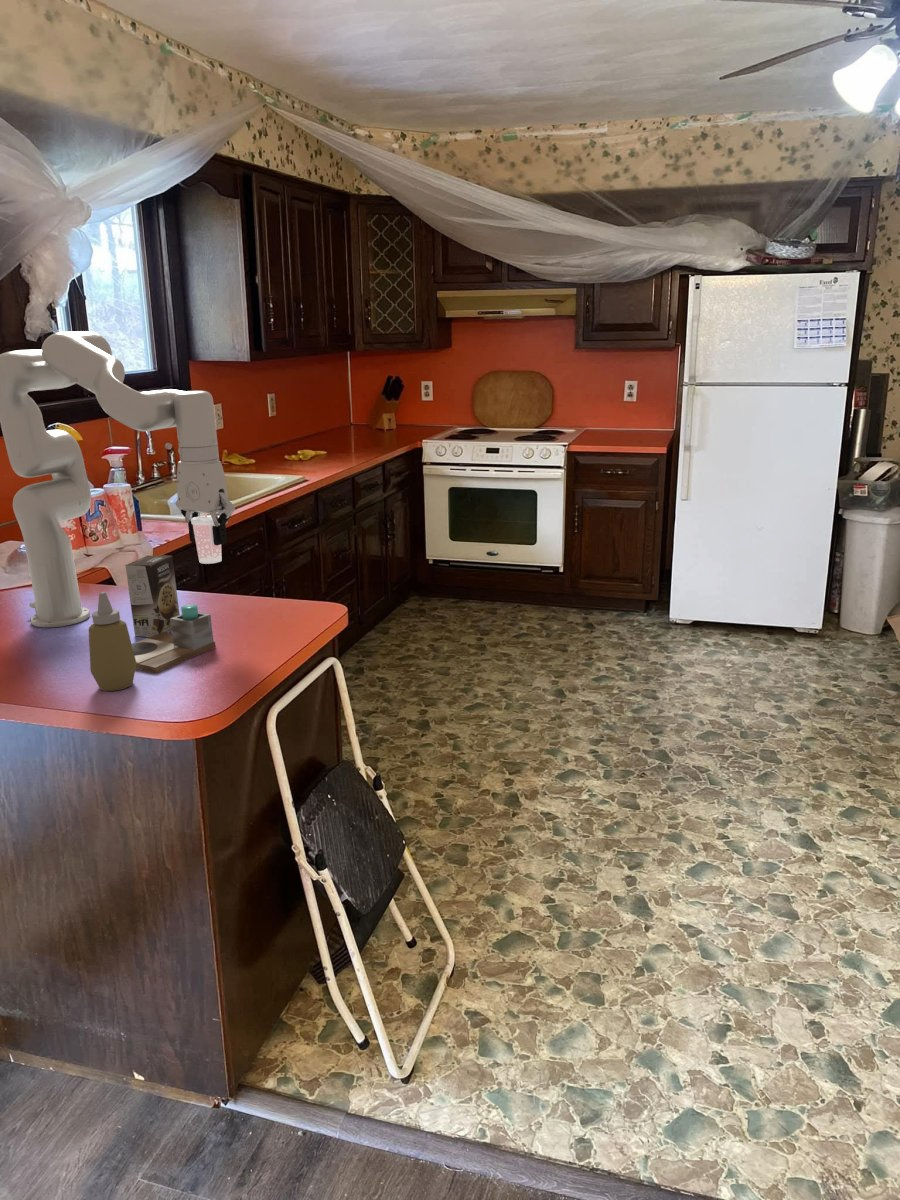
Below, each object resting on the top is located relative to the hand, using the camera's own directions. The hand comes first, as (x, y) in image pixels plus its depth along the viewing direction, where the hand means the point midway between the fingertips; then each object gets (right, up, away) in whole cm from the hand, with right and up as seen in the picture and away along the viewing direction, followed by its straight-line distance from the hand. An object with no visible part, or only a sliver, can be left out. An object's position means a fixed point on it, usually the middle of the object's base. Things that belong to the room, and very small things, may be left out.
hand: (208, 541), depth 184 cm
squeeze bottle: (-12, -28, -18) cm, 35 cm away
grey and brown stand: (-9, -23, -2) cm, 25 cm away
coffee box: (-14, -19, +13) cm, 27 cm away
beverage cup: (0, -4, +1) cm, 4 cm away
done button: (-3, -16, -2) cm, 17 cm away
